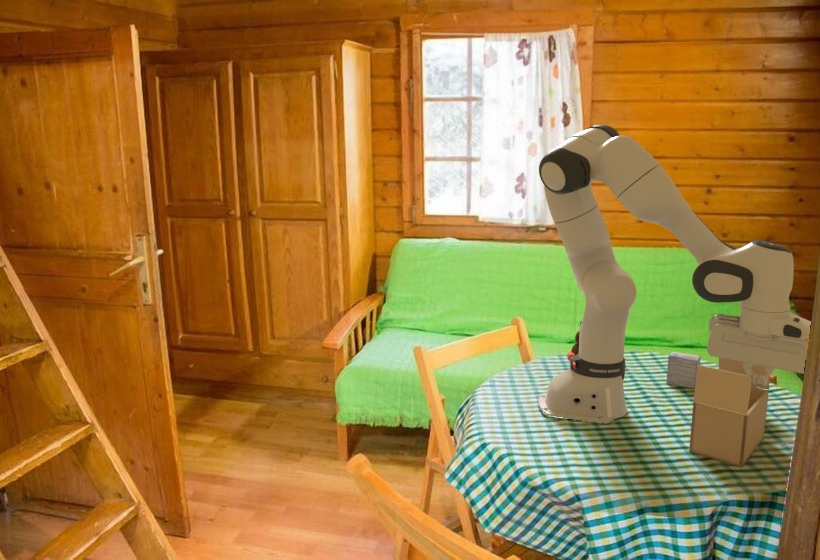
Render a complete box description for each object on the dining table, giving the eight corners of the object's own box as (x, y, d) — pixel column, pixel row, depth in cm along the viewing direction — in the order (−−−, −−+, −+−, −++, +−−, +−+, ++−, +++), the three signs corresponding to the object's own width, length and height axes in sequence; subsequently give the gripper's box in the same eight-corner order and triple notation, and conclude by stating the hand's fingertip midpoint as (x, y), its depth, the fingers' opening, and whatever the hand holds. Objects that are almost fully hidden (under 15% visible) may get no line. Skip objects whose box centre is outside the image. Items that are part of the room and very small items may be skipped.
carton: (689, 451, 146) (693, 402, 143) (713, 425, 158) (718, 379, 155) (741, 467, 139) (747, 415, 136) (763, 438, 151) (769, 390, 148)
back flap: (718, 349, 152) (719, 348, 152) (718, 378, 155) (719, 377, 155) (769, 359, 145) (770, 358, 145) (768, 389, 148) (769, 388, 148)
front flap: (693, 401, 143) (693, 401, 142) (698, 364, 142) (698, 365, 141) (747, 414, 136) (746, 414, 135) (752, 376, 135) (751, 376, 134)
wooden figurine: (579, 371, 194) (581, 323, 191) (567, 365, 199) (569, 318, 196) (597, 368, 197) (599, 320, 193) (585, 362, 202) (587, 315, 198)
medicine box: (698, 384, 183) (701, 355, 181) (696, 389, 179) (698, 360, 177) (669, 379, 187) (671, 350, 185) (665, 384, 183) (668, 355, 181)
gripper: (705, 315, 136) (700, 377, 140) (817, 333, 123) (809, 401, 126) (714, 308, 141) (710, 368, 144) (824, 325, 128) (816, 390, 131)
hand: (757, 384), depth 135 cm, fingers closed
